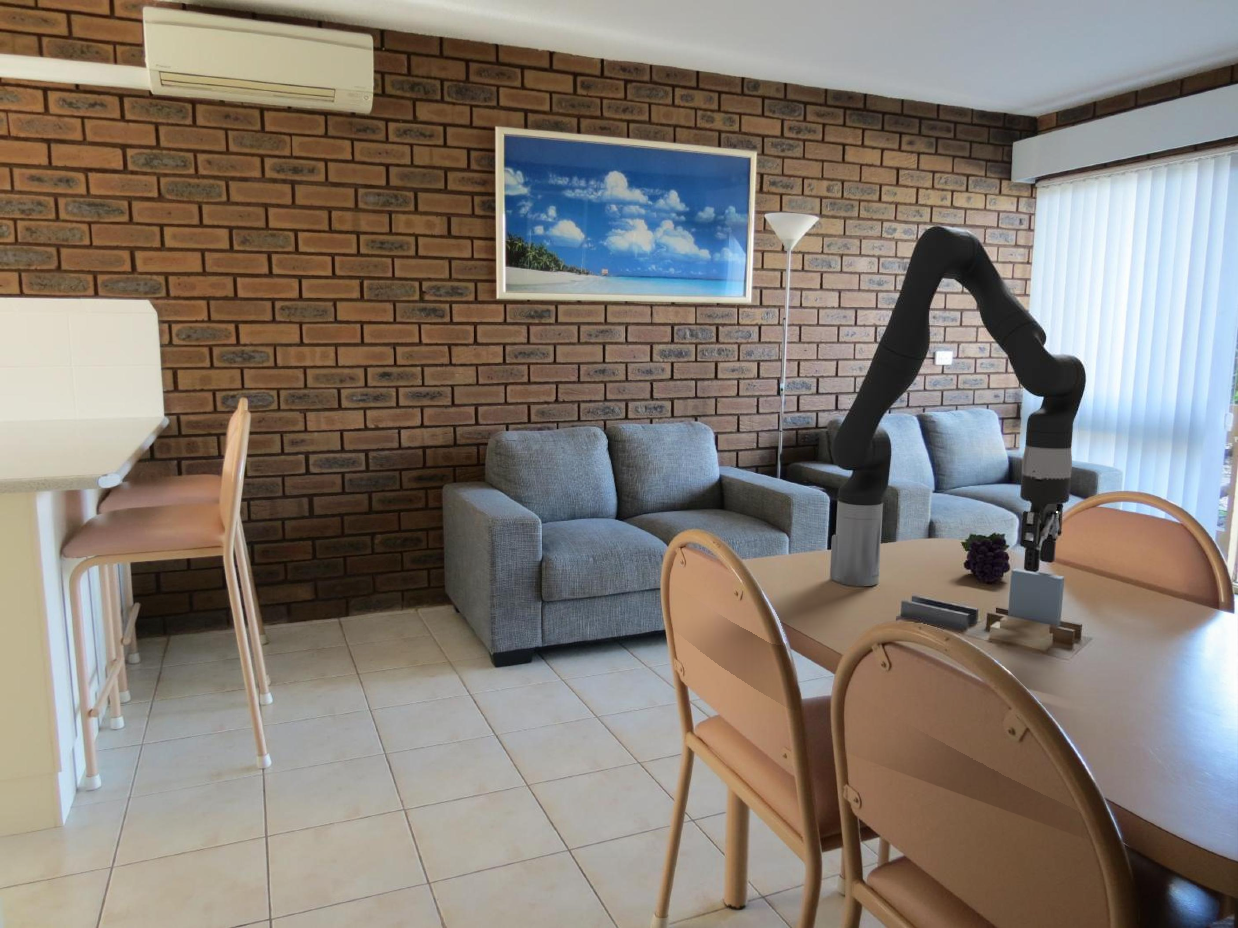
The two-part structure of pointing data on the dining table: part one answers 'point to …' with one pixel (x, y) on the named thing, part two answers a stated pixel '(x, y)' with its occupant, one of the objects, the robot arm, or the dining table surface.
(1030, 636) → the offcut stack
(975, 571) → the fruit
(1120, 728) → the dining table surface
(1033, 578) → the tall sheet
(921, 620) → the stand
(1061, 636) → the offcut rack
